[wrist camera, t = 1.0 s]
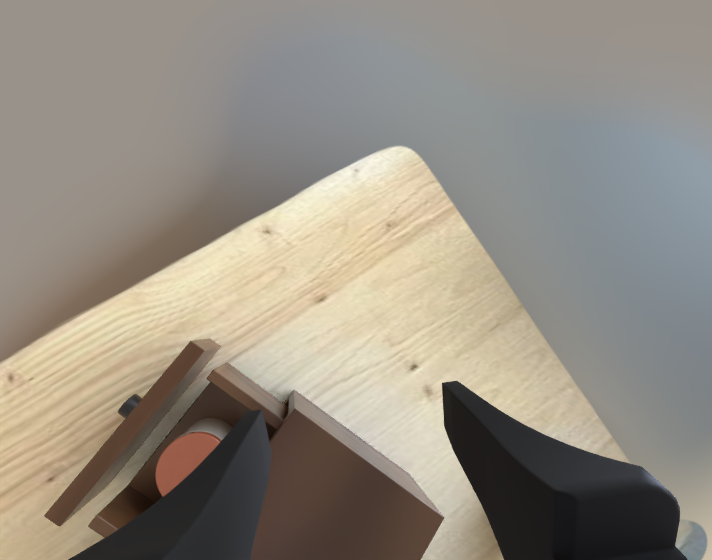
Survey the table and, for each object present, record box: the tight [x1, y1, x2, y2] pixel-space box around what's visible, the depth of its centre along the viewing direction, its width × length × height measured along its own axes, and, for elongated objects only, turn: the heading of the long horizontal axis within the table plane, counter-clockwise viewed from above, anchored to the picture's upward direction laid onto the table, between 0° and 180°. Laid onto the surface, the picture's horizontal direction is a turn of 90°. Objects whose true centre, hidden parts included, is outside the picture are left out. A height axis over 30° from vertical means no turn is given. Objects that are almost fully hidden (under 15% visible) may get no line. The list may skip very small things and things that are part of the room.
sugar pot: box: [155, 418, 233, 497], centre depth 26 cm, size 5×5×4 cm
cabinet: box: [251, 390, 444, 560], centre depth 27 cm, size 14×15×8 cm
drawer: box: [45, 339, 289, 538], centre depth 26 cm, size 14×13×6 cm
